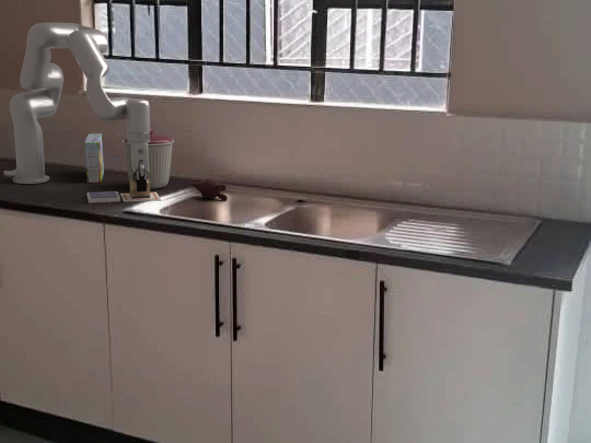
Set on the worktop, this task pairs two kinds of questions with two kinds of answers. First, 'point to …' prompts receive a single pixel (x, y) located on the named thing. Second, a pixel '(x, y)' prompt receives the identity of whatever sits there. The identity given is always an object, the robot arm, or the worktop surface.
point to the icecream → (210, 189)
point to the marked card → (127, 198)
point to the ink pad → (103, 197)
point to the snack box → (94, 158)
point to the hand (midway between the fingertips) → (140, 188)
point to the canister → (154, 159)
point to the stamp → (135, 194)
